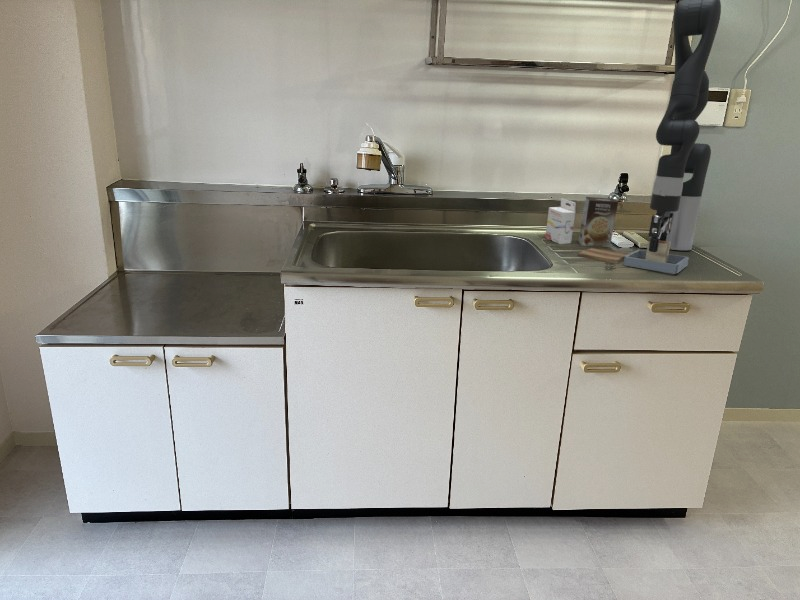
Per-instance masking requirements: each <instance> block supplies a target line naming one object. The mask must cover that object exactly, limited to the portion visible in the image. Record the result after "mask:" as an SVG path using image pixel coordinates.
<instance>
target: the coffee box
mask: <svg viewBox="0 0 800 600" xmlns="http://www.w3.org/2000/svg"><path fill="white" fill-rule="evenodd" d="M618 204H619V201H618V200H616V199H614V198H609V197H598V196H597V197H596V196H595V197H594V196H585V200H584V207H583V210H582V211H583V212H582V218H581V224H580V229H579V231H580V232H579V234H578V235H579V236H578V243H579V244H580V245H581V246H582V247H600V248H601V247H604V248H605V247H606V248H611V243H612V240H613V232H614V227H615V221H616V216H617V209H618Z"/></svg>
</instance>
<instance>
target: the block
mask: <svg viewBox="0 0 800 600" xmlns="http://www.w3.org/2000/svg"><path fill="white" fill-rule="evenodd" d="M670 244H671V242H668V241H661V240H659V245H658V250H657V252H650V251H649V245H650V240H649V241H647V247H646V251H647V252H646V258H644V259H645V260H652V261H658V262H664V263H668V262H667V261H668V255H669V254H670V250H671V249H670Z"/></svg>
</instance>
